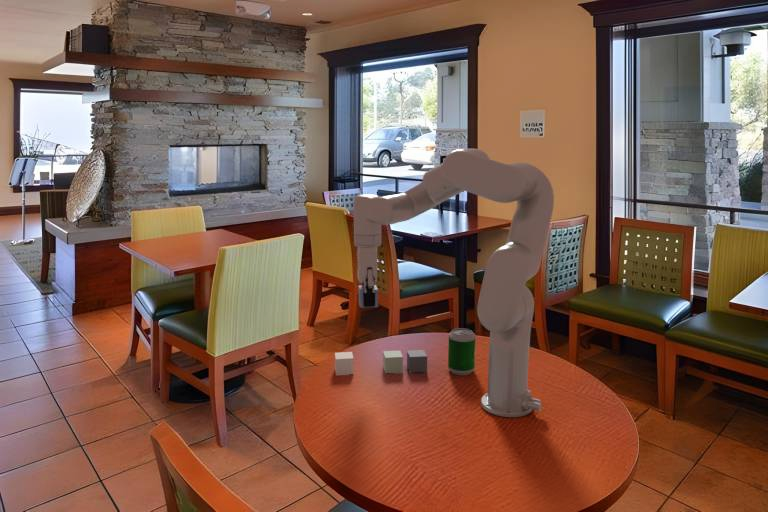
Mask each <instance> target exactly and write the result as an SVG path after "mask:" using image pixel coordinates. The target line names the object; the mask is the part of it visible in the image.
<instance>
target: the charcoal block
mask: <svg viewBox="0 0 768 512" xmlns="http://www.w3.org/2000/svg"><path fill="white" fill-rule="evenodd" d="M406 367H408V368H407V370H408V369H409V370H408V372H409V371H410V372H424V373H428V355H427V353H426V351H425V349H413V350H406ZM410 372H409V373H410Z"/></svg>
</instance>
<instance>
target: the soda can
mask: <svg viewBox="0 0 768 512" xmlns="http://www.w3.org/2000/svg"><path fill="white" fill-rule="evenodd" d="M476 338H477V337H476V334H475V333H474V332H473V330H471V329H469V328H463V327H461V328H459V327H458V328H453V329H452V330H451V331H450V332H449V333H448V350H447V351H448V355H447V357H448V359H447V362H448V363H447V367H448V369H449V371H450V372H451V373H452V374H454V375H456V376H468V375H470V374H472V372H474V370H475V366H476V365H475V364H476V362H475V360H476Z"/></svg>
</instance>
